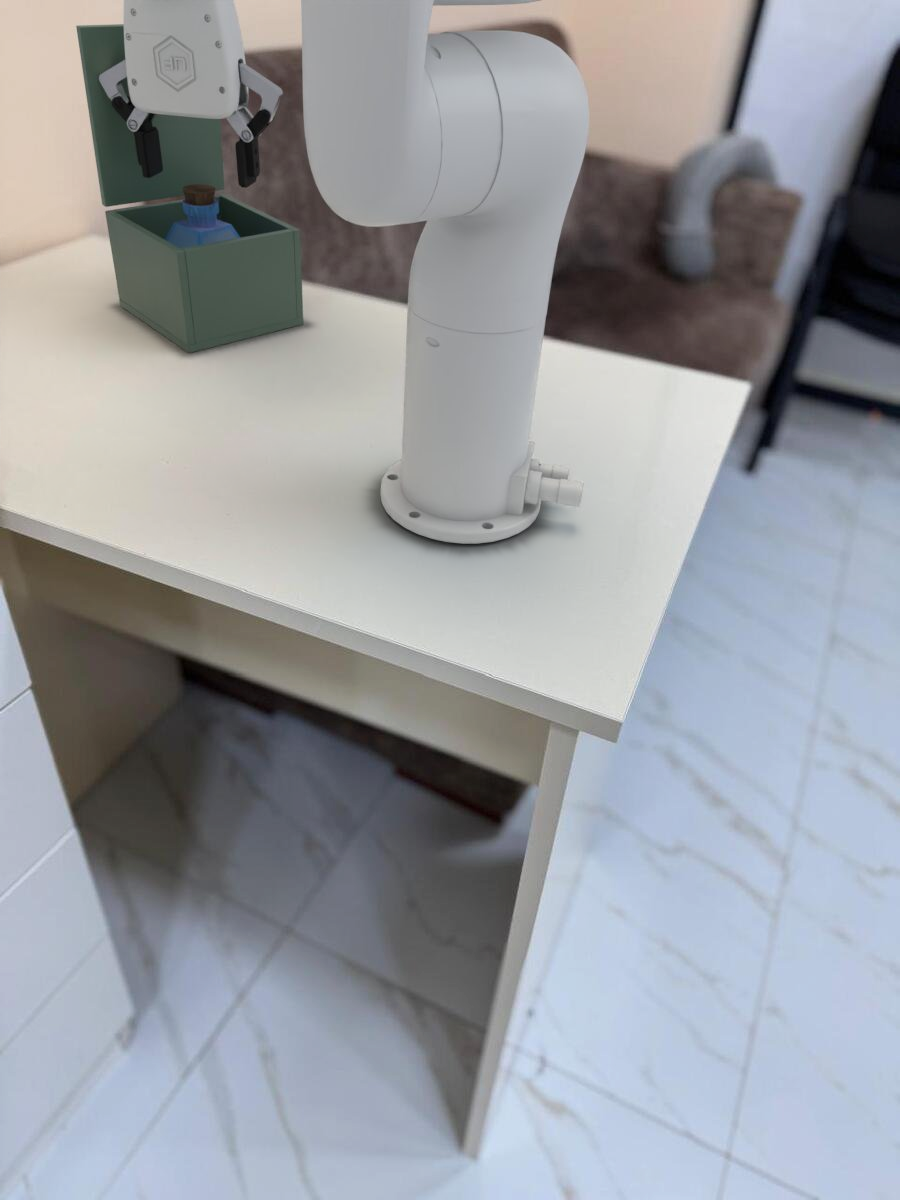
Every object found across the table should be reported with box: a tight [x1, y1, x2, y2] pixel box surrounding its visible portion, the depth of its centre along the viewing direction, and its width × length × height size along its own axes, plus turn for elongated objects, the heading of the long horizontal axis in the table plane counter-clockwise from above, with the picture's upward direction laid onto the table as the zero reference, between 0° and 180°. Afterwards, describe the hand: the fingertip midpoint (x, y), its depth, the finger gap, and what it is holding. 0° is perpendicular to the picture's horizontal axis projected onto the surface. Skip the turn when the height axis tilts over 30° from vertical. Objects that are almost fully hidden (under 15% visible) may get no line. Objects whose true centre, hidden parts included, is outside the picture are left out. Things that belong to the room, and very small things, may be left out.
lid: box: [75, 23, 225, 208], centre depth 91 cm, size 16×14×5 cm
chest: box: [104, 193, 304, 354], centre depth 94 cm, size 15×14×10 cm
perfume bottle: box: [165, 184, 240, 249], centre depth 93 cm, size 6×6×12 cm
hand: (200, 179), depth 88 cm, fingers open, 9 cm apart
